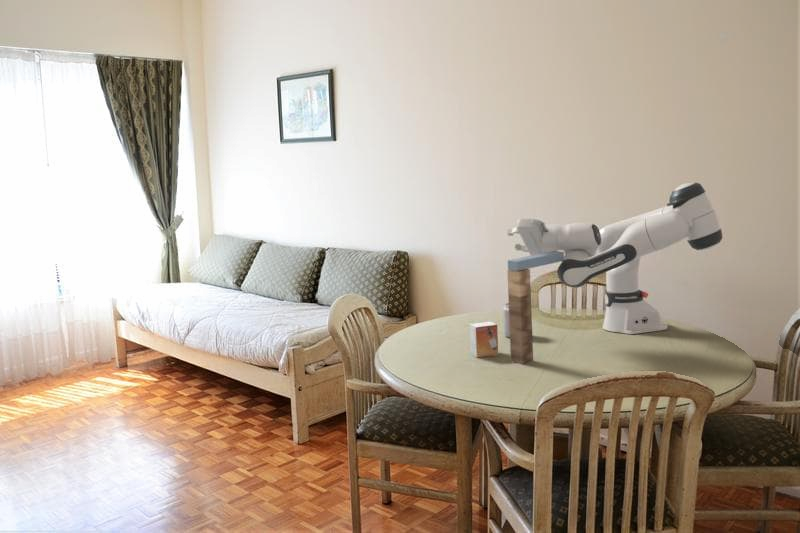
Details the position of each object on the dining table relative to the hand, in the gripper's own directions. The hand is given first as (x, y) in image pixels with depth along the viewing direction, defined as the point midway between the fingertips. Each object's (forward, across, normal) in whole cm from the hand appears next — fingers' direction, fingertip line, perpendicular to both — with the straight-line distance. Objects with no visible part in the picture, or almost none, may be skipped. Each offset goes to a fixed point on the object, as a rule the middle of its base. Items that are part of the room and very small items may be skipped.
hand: (511, 240), depth 252 cm
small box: (+7, +10, -39) cm, 41 cm away
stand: (-7, +8, -42) cm, 44 cm away
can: (+4, +28, -23) cm, 37 cm away
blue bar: (-12, -7, -15) cm, 21 cm away
